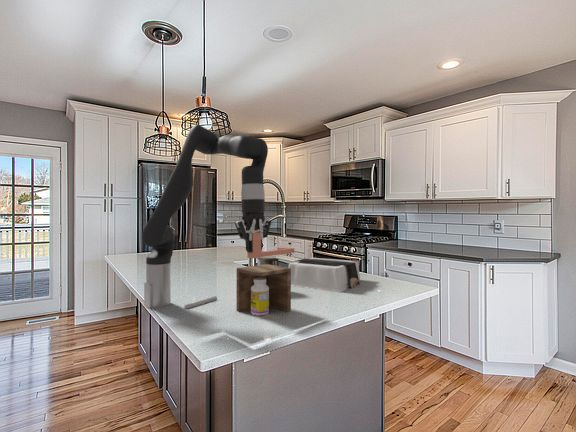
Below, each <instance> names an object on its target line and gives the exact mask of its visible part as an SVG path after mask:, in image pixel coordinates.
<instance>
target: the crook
mask: <svg viewBox="0 0 576 432" xmlns="http://www.w3.org/2000/svg"><path fill="white" fill-rule="evenodd" d="M251 241H252V249H253V251H252V252H247V251H246V255H247V258H248V259H258V258H266V257H270V256H271V257H273V256H279V255H286V254H295V247H291V248H290V247H277V248H276V249H274V250H266V251H265V250H264V251H261V233H253V234H252V240H251Z"/></svg>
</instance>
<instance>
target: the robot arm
mask: <svg viewBox="0 0 576 432" xmlns="http://www.w3.org/2000/svg"><path fill="white" fill-rule="evenodd" d="M195 151H198V153H201V154H203V155H216V154H217V155H218V154H220V155H221V154H223V155H227V156H233V157H238V158H242V159H249V160H252V161H251V164H250V165H246V166H244V167H242V169H241V190H240V191H241V193H240V194H241V213H242V217H241V220H238V221H235V222H234V225H235V228H236V231H237V234H238V235H239V236H238V237H239V238H240V239H242V240H244V241H245V251H246V253H247V252H252V251H253V249H252V241H251V240H252V234H253V233H261V252H263V249H264V248H263V240H264V239H265V238H268V235H269V232H270V228H271V225H272V221H271V220H268V219H266V217H265V214H264V213H266V203H265V202H266V201H265V199H266V198H265V197H266V196H265V194H266V193H265V187H264V171H265V166H266V162H267V158H268V152H269V147H268V145H267V143H266V141H265V140H264V139H262V138H258V137H254V136H248V135H237V134H236V135H235V134H225V135H223V136H219V135H217V134H216V133H214V132H213V131H211V130H209V129H208V128H205V127H203V126H202V125H199V124H194V125H193V126H192V127H191V128H190V130H189V131H188V133H187V135H186V138H185V141H184V144H183V146H182V149H181V152H180V155H179V157H178V159H177V162H176V164H175V167H174V169H173V171H172V173H171V175H170V177H169V179H168V181H167V183H166V185H165V187H164V190H163V192H162V194H161V197H160V198H159V201H158V202H157V205H156V207H155V209H154V211H153V213H152V214H151V217H150V218H149V219H148V221H147V223H146V224H145V226H144V228H143V231H142V234H141V238H142V242H143V244H144V245H145V246H147V247H149V248H151V251H150V253H148V255H147V256H146V260H145V280H146V281H145V282H144V286H143V287H144V289H143V294H144V295H143V300H144V301H143V303H144V304H143V305H144V306H145V307H147V308H149V309H153V308H154V309H157V308H164V307H167V306H168V307H169V306H170V305H171V304H172V303H171V302H172V301H171V300H172V299H171V297H172V295H171V283H172V282H171V277H172V276H171V274H172V273H171V270H172V269H171V266H172V265H171V261H172V257H173V253H174V232H173V228H172V227H171V226H170V225H169V223H170V221H171V219H172V217H173V216H174V215H175V214H176V213H177V212H178V211H179V210H180V208H181V207H182V206H183V205H184V204H185V202H186V201H187V200H188V198H189V196H190V193H191V192H192V189H193V186H194V176H193V168H192V165H193V164H192V163H193V157H194V154H195Z"/></svg>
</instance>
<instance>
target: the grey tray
mask: <svg viewBox="0 0 576 432" xmlns="http://www.w3.org/2000/svg"><path fill="white" fill-rule="evenodd" d="M287 268H291V285H294V286H293V287H297V286H301V287H300V288H304V287H308V288H307V289H311V288H313V289H312V290H318V289H319V290H320V291H326V292H332V293H333V292H334V293H342V292H344V291H346V290H347V289H350V288H351V289H354V288H355V287H356V286H358V285H360V284H361V277H360V276H361V275H360V269H359V268H360V267H359V261H358V260H345V259H333V258H322V257H321V258H319V257H310V258H302V259H297V260H294V262H289V264H288V267H287Z"/></svg>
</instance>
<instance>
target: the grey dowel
mask: <svg viewBox="0 0 576 432" xmlns="http://www.w3.org/2000/svg"><path fill="white" fill-rule="evenodd" d="M217 300H218V297H217V296H216V295H214V296H211V297H208V298H204V299H200V300H197V301H193V302H190V303H186V304H184V310H185V309H186V310H188V309H191V308H195V307H197V306H201V305H204V304H207V303H210V302H215V301H217Z"/></svg>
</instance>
